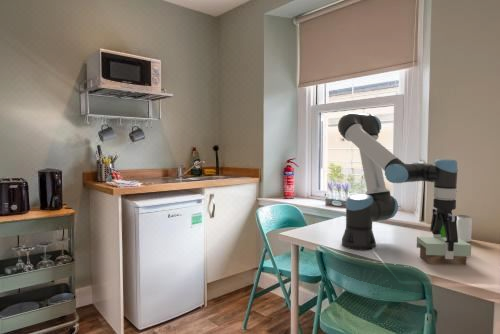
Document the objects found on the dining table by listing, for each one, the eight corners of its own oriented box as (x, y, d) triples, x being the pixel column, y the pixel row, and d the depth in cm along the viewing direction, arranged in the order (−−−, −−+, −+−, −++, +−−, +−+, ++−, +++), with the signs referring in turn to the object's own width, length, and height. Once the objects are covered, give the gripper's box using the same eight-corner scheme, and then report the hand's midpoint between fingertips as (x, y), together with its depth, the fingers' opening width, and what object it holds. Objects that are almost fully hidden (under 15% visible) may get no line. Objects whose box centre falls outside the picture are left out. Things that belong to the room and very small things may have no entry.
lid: (426, 254, 118) (426, 243, 118) (416, 247, 127) (416, 236, 127) (470, 256, 117) (471, 244, 116) (457, 248, 125) (458, 237, 125)
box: (427, 265, 120) (428, 247, 119) (419, 258, 126) (420, 242, 126) (466, 266, 118) (466, 249, 117) (456, 260, 125) (456, 243, 124)
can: (473, 242, 147) (474, 218, 146) (458, 241, 149) (459, 217, 148) (467, 238, 154) (468, 215, 153) (452, 237, 155) (453, 214, 154)
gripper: (471, 203, 109) (468, 265, 111) (440, 194, 131) (438, 245, 132) (449, 203, 110) (446, 264, 112) (422, 193, 132) (420, 245, 133)
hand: (442, 254), depth 122 cm, fingers closed on lid, 9 cm apart
